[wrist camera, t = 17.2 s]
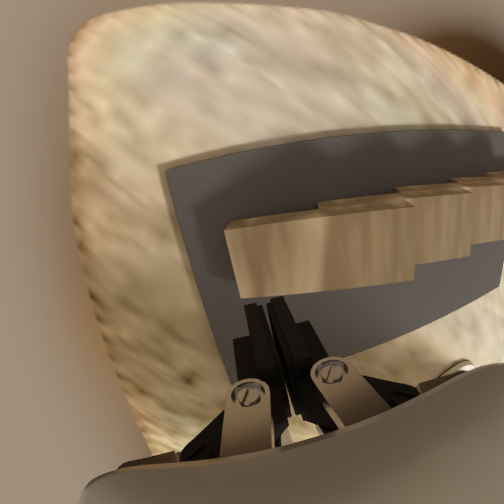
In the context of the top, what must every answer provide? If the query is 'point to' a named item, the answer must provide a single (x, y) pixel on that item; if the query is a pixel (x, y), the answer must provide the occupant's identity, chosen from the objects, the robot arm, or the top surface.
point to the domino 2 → (431, 220)
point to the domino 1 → (323, 249)
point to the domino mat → (306, 197)
